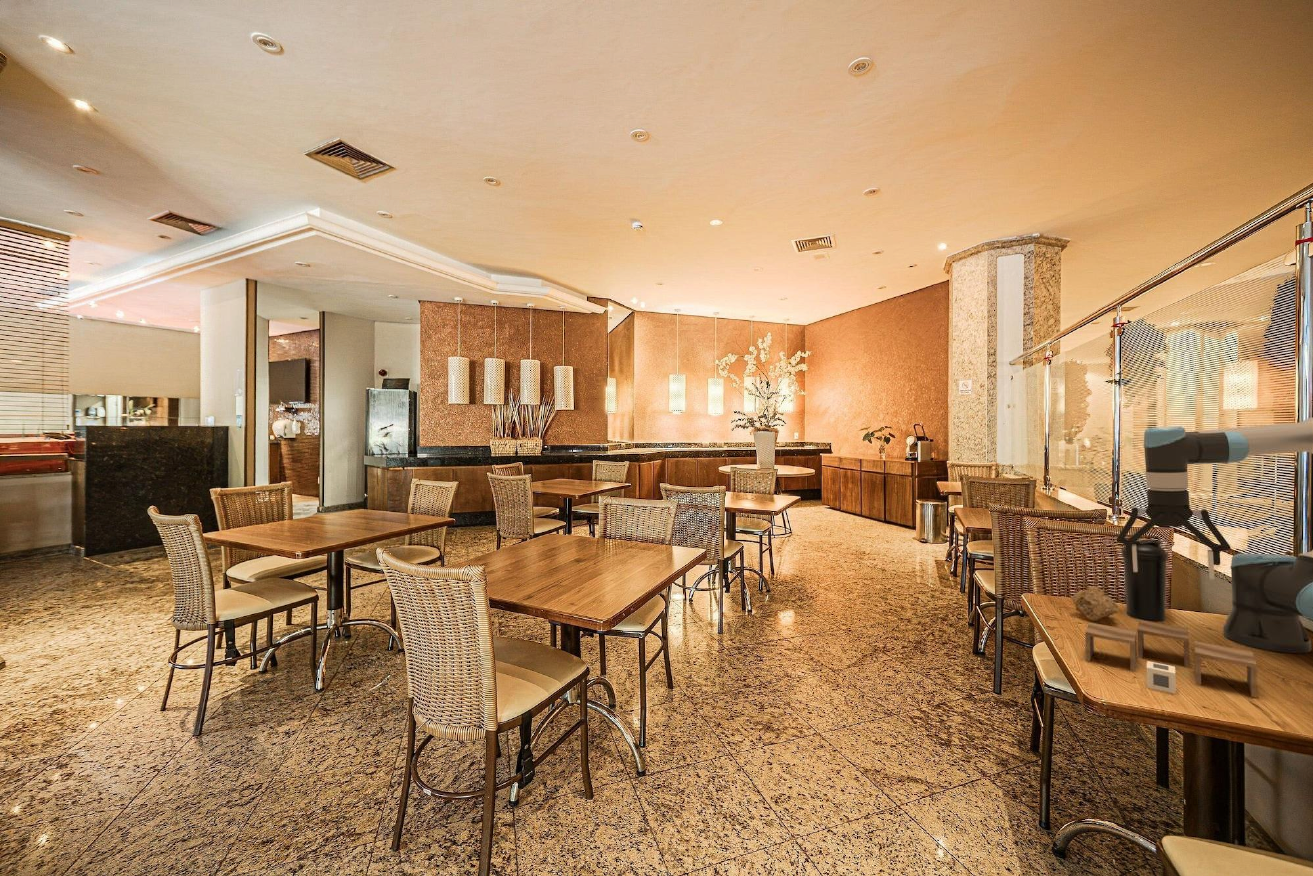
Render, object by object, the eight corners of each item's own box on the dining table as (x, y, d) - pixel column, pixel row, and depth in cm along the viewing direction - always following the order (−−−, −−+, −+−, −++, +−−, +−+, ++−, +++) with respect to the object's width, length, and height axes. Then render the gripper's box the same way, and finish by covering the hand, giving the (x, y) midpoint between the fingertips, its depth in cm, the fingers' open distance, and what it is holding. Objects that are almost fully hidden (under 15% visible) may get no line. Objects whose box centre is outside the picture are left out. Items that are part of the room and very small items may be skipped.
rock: (1066, 613, 164) (1066, 581, 164) (1098, 612, 165) (1097, 580, 165) (1101, 627, 152) (1101, 592, 152) (1135, 626, 153) (1134, 591, 153)
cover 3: (1194, 671, 124) (1194, 640, 124) (1252, 682, 117) (1251, 651, 117) (1195, 684, 117) (1195, 652, 117) (1257, 697, 111) (1256, 664, 111)
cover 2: (1139, 647, 138) (1139, 620, 138) (1188, 656, 132) (1188, 628, 132) (1138, 657, 132) (1137, 629, 132) (1189, 668, 125) (1188, 638, 125)
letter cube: (1147, 681, 120) (1147, 660, 120) (1175, 687, 116) (1175, 666, 116) (1147, 688, 116) (1146, 667, 116) (1175, 694, 113) (1175, 673, 113)
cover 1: (1089, 649, 137) (1089, 622, 137) (1136, 659, 131) (1136, 630, 131) (1085, 660, 130) (1085, 632, 130) (1135, 671, 124) (1134, 641, 124)
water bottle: (1178, 623, 154) (1176, 544, 154) (1137, 621, 156) (1135, 543, 156) (1153, 612, 164) (1151, 537, 164) (1115, 610, 166) (1113, 537, 166)
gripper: (1239, 488, 126) (1245, 577, 126) (1103, 486, 144) (1107, 565, 143) (1243, 491, 121) (1249, 585, 121) (1100, 489, 138) (1105, 571, 138)
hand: (1172, 574), depth 132 cm, fingers open, 13 cm apart
